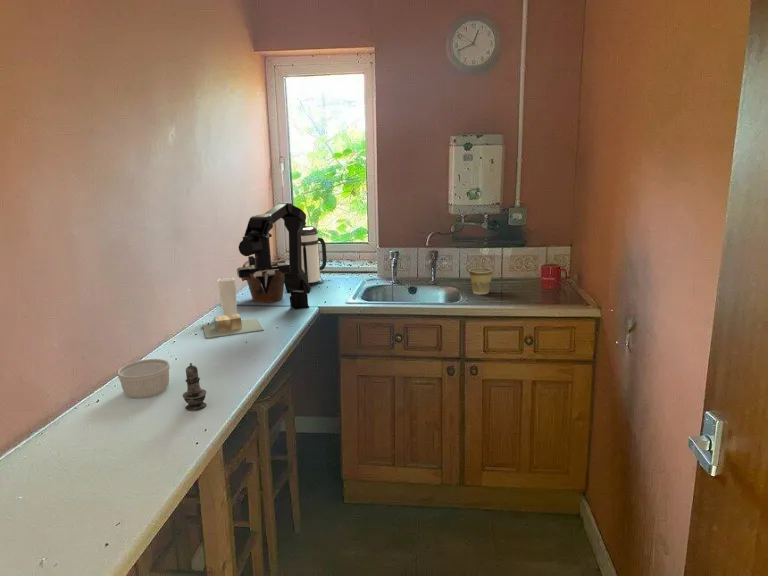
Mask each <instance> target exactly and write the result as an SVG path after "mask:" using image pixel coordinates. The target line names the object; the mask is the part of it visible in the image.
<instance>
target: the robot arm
mask: <svg viewBox="0 0 768 576" xmlns="http://www.w3.org/2000/svg"><path fill="white" fill-rule="evenodd" d="M280 219H282V220H283V222H284V227H285V228H286V230H287V231H288V261H289V262H288V263H287V262H286V263H278V264H277V266H273V267H272V265H271V262H272V257H271V256H272V255H271V244H270V238H272V236H273V235H272V234H271V233H270V231H271V230H272V229H273V228H274V224H275V223H276V222H277V221H279V220H280ZM306 220H307V214H306V212H304V210H303V209H302V208H301V207H298V206H295V205H294V204H292V203H291V202H288V201H286V202H285V201H284V202H283V201H282V202H280V201H279V202H278V203H277V204H276V205H275V206H273V207H272V208H271V209H269V210H267V211H266V212H264V213H263V214H256V215H252V216H250V218H249V220H248V222H247V226H246V228H245V233H244V236H242V240H241V241H240V242H239V244H238V250H239V254H241V255H242V256H243V257H247V261H249V265H254V269H249V268H248V267H243V266H242V267H237V268H236V274H237V275H236V276H237V278H239V279H241V278H244V277H249V275H250V274H253V276H254V277H255V278H258V280H259V281H260V283H261V285H262V288H263V290H264V293H267V292H268V289H269V285H270V282H271V280H272V278H273V277H274V276H276V275H275V274H274V272H275V271H281V272H282V273H285V275H284V277H285V281H284V288H285V290H286V294H290V296H289V304H290V307H291V308H292V309H293V310H301V309H309V308H310V305H309V300H308V299H309V298H308V294H310V293H311V292H312V291H311V290H312V285H310V283H308V282H307V280H306V274H305V273H304V271H303V269H302V255H301V232H302V230H303V228H304V226H306V225H305V222H306ZM259 270H261V271H259ZM265 272H266V273H265ZM262 273H265V281H264V276H263V275H262Z"/></svg>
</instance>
